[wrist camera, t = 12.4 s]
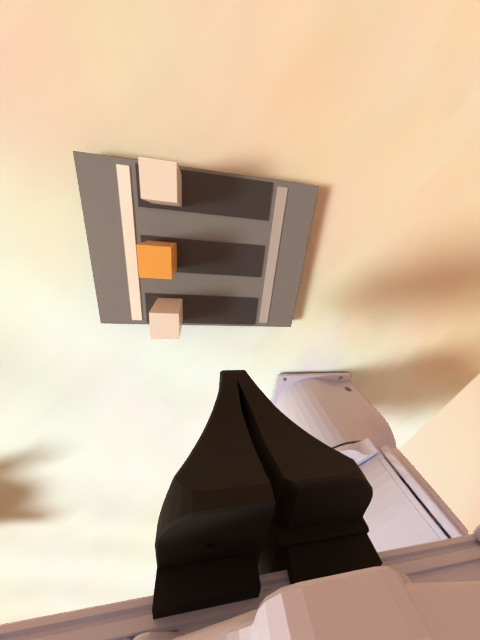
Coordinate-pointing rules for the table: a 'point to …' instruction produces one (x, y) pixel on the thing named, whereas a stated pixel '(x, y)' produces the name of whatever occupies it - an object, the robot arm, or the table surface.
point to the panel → (193, 243)
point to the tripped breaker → (157, 259)
